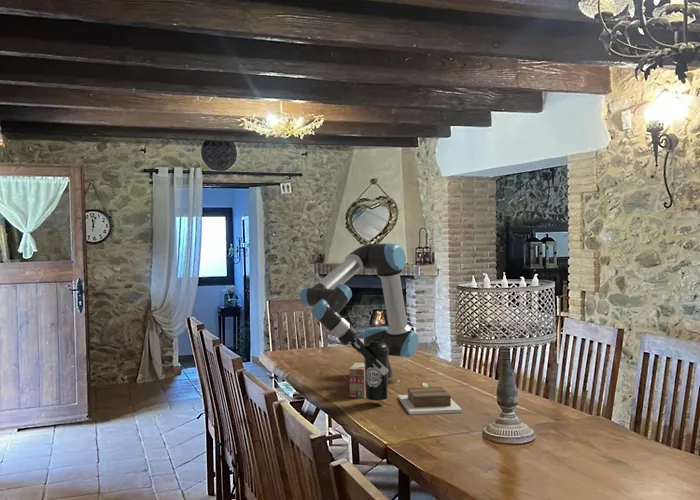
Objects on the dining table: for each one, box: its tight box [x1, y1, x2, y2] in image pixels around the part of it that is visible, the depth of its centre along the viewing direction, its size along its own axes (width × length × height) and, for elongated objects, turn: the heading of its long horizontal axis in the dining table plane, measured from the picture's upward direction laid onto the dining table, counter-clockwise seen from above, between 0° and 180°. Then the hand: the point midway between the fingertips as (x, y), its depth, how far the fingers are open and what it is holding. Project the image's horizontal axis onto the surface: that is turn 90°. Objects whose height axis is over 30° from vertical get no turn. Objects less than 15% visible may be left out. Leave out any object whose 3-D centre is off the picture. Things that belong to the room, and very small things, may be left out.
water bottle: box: [363, 339, 389, 401], centre depth 252 cm, size 10×10×23 cm
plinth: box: [407, 386, 452, 407], centre depth 250 cm, size 14×14×4 cm
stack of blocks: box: [348, 362, 366, 399], centre depth 273 cm, size 21×6×12 cm, turn 168°
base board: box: [398, 394, 463, 416], centre depth 250 cm, size 24×20×1 cm
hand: (384, 370), depth 252 cm, fingers closed on water bottle, 9 cm apart
